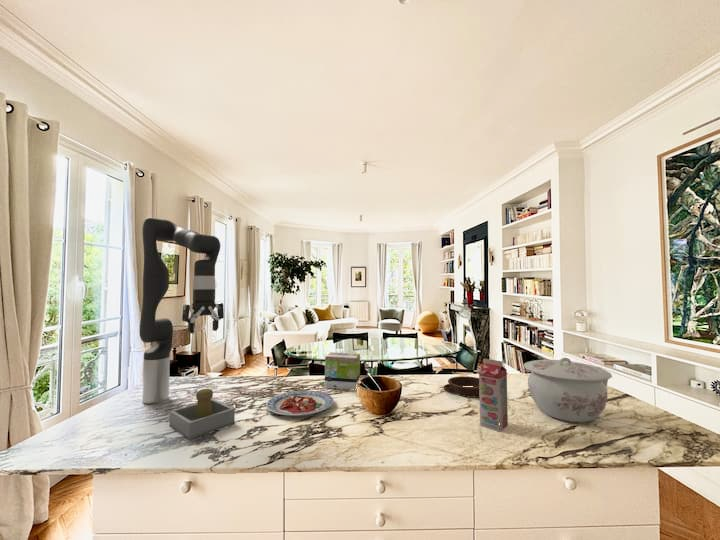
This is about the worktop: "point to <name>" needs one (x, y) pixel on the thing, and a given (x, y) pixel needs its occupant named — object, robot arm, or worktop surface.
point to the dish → (459, 382)
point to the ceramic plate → (299, 403)
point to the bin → (201, 419)
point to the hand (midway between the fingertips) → (203, 331)
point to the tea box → (342, 370)
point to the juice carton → (493, 395)
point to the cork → (204, 403)
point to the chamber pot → (568, 389)
